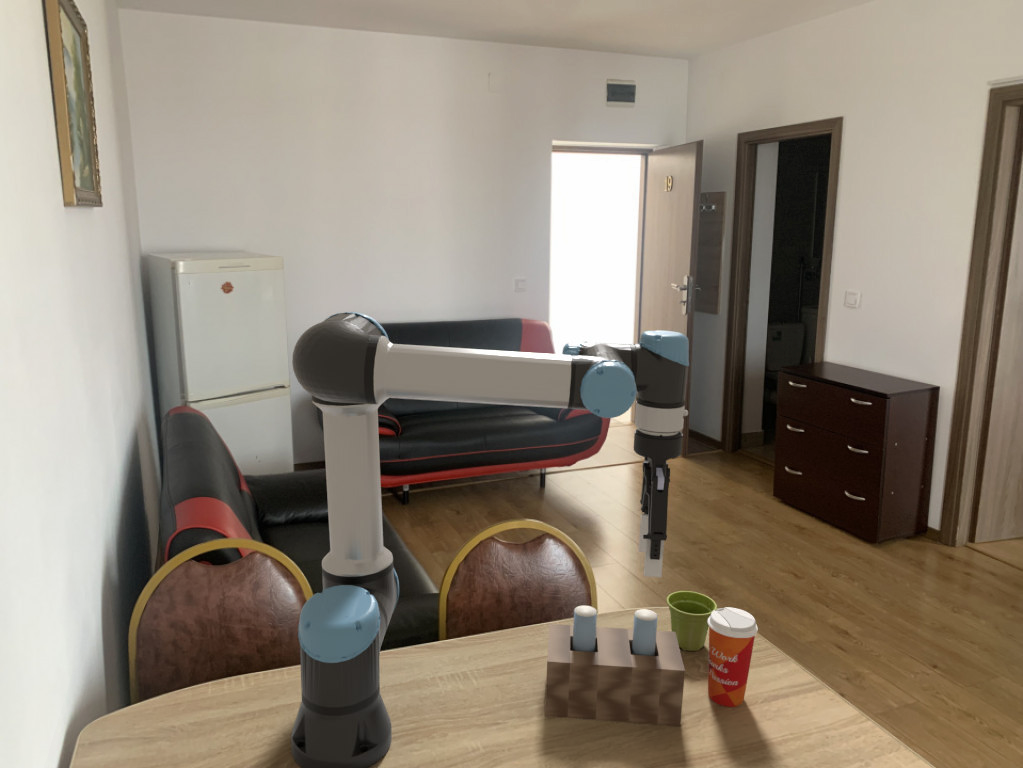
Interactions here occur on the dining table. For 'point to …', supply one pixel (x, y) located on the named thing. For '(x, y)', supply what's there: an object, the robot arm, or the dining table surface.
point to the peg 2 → (644, 632)
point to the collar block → (614, 678)
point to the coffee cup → (729, 654)
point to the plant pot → (690, 618)
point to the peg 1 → (584, 629)
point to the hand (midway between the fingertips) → (649, 562)
